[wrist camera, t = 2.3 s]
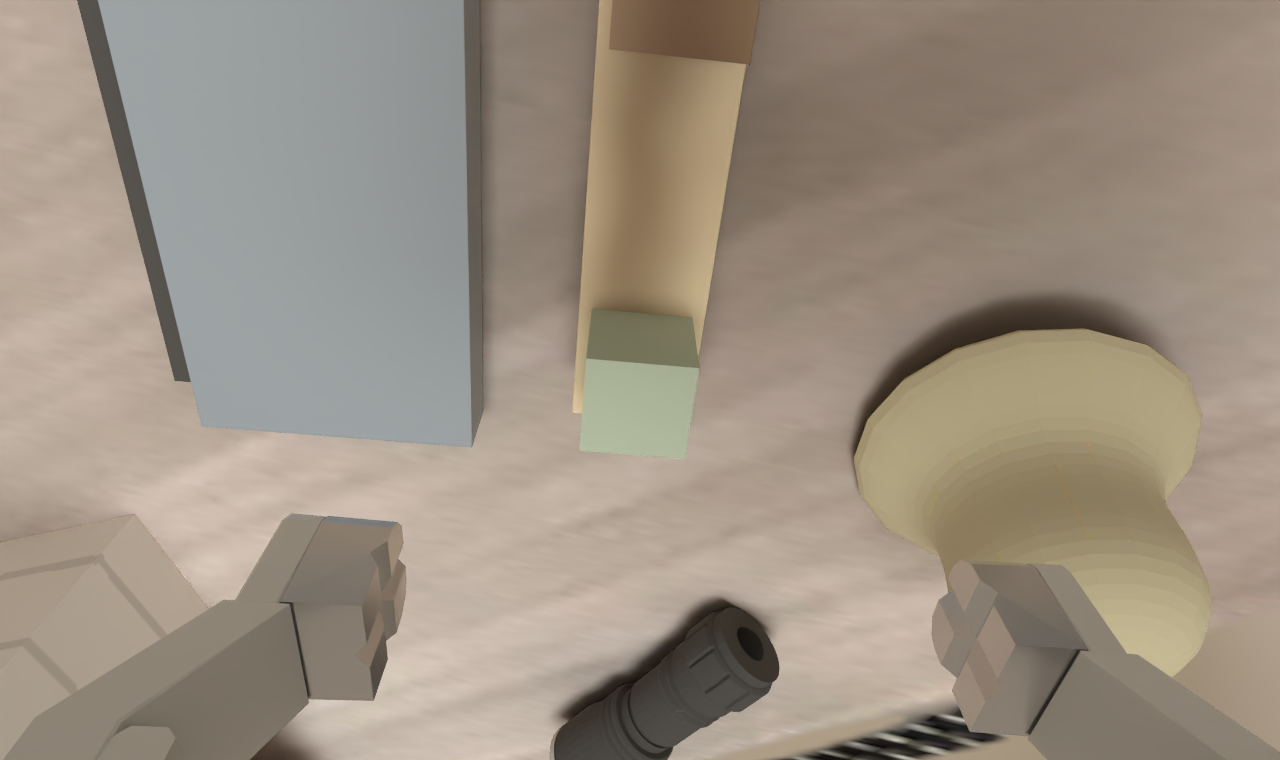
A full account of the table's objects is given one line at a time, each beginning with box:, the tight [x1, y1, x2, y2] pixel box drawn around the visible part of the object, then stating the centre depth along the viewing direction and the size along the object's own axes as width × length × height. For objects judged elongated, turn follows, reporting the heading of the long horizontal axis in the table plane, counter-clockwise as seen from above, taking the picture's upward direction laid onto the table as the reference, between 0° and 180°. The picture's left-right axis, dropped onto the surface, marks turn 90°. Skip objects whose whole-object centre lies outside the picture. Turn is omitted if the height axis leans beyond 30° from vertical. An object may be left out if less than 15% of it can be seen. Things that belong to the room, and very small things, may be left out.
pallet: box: [572, 0, 746, 413], centre depth 29 cm, size 5×20×4 cm, turn 174°
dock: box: [77, 0, 483, 447], centre depth 28 cm, size 13×26×3 cm, turn 174°
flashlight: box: [550, 607, 779, 760], centre depth 45 cm, size 15×5×5 cm, turn 139°
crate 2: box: [579, 309, 700, 459], centre depth 29 cm, size 4×4×4 cm
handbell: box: [854, 328, 1212, 678], centre depth 28 cm, size 15×15×25 cm
